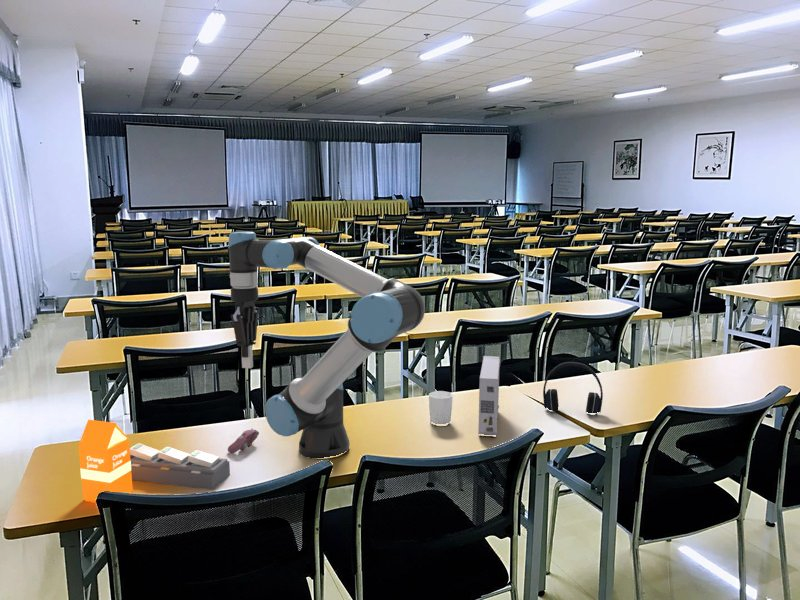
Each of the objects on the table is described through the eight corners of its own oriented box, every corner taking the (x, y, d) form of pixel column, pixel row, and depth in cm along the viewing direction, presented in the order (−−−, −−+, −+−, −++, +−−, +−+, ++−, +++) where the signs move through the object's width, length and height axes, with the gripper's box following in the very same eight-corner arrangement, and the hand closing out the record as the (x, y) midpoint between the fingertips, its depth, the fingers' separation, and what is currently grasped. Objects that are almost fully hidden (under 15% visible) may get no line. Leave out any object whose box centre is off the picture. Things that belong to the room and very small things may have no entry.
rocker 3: (218, 462, 170) (219, 456, 169) (211, 468, 166) (211, 462, 165) (195, 455, 171) (196, 449, 171) (187, 461, 167) (188, 455, 167)
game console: (498, 411, 223) (500, 356, 220) (496, 440, 197) (498, 379, 193) (482, 410, 224) (483, 355, 221) (478, 439, 198) (479, 378, 194)
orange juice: (105, 487, 165) (99, 414, 162) (133, 491, 163) (127, 417, 159) (82, 500, 158) (75, 424, 155) (111, 505, 155) (105, 428, 152)
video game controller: (237, 460, 186) (245, 441, 184) (225, 451, 187) (233, 433, 185) (255, 447, 195) (263, 429, 193) (243, 439, 196) (252, 421, 194)
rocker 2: (188, 459, 172) (189, 453, 171) (180, 465, 168) (181, 459, 168) (166, 451, 173) (167, 445, 173) (157, 457, 169) (158, 451, 169)
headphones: (541, 413, 221) (543, 363, 218) (543, 407, 227) (545, 358, 224) (601, 419, 215) (604, 367, 212) (601, 412, 222) (604, 362, 219)
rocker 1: (159, 456, 174) (160, 450, 174) (150, 462, 170) (151, 456, 170) (137, 448, 175) (138, 442, 175) (128, 453, 171) (129, 448, 171)
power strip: (230, 474, 172) (229, 457, 172) (212, 489, 164) (211, 471, 163) (140, 464, 179) (139, 447, 178) (119, 478, 170) (118, 460, 170)
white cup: (457, 424, 210) (457, 395, 208) (438, 429, 206) (438, 400, 204) (442, 417, 217) (442, 389, 215) (423, 422, 212) (424, 393, 211)
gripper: (243, 283, 185) (246, 360, 189) (220, 289, 173) (224, 372, 177) (266, 283, 184) (269, 362, 187) (245, 290, 171) (248, 374, 175)
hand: (247, 367), depth 182 cm, fingers closed
